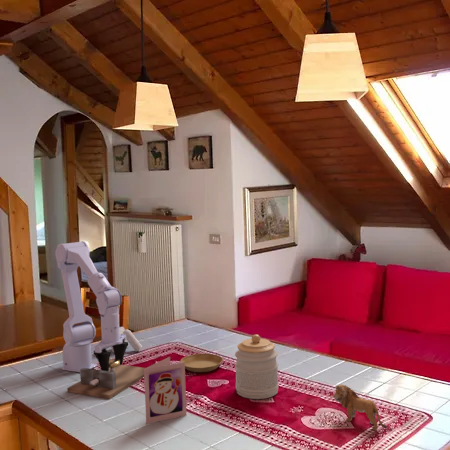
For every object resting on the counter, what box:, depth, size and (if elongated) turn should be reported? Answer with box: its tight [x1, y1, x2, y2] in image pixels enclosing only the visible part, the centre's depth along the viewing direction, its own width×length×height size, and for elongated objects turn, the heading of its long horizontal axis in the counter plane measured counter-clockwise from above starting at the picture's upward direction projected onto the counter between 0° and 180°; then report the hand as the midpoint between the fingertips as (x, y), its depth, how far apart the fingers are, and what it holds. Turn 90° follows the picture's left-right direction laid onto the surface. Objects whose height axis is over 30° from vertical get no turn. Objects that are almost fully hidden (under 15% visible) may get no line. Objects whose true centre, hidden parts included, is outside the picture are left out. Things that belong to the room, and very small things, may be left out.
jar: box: [234, 334, 279, 400], centre depth 169 cm, size 13×13×18 cm
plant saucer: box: [179, 353, 224, 373], centre depth 194 cm, size 15×15×3 cm
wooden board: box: [66, 364, 146, 400], centre depth 181 cm, size 16×24×6 cm, turn 155°
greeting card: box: [143, 356, 187, 424], centre depth 154 cm, size 11×7×15 cm, turn 114°
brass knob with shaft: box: [90, 358, 120, 387], centre depth 178 cm, size 5×13×5 cm, turn 155°
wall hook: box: [110, 326, 143, 354], centre depth 213 cm, size 8×10×10 cm
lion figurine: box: [333, 384, 388, 432], centre depth 147 cm, size 15×5×9 cm, turn 50°
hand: (112, 368), depth 182 cm, fingers open, 7 cm apart
